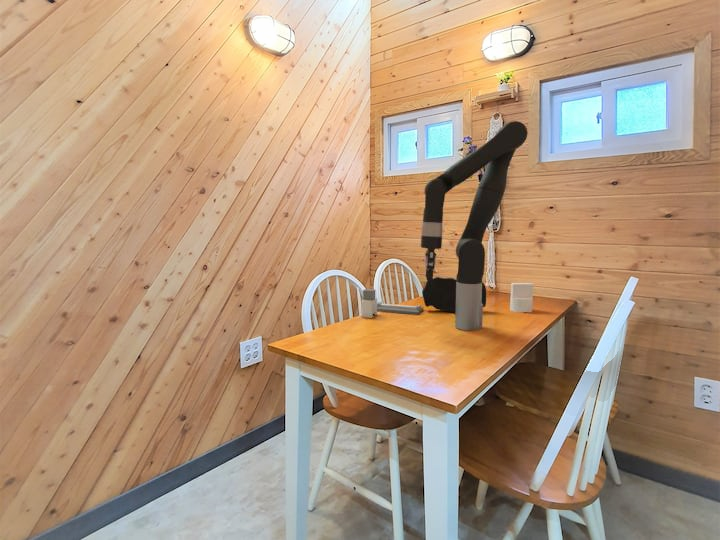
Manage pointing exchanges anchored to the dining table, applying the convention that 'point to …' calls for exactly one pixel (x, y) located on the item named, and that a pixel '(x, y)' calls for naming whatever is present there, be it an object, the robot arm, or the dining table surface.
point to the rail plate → (399, 308)
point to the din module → (369, 303)
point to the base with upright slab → (521, 297)
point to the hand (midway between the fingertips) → (429, 279)
